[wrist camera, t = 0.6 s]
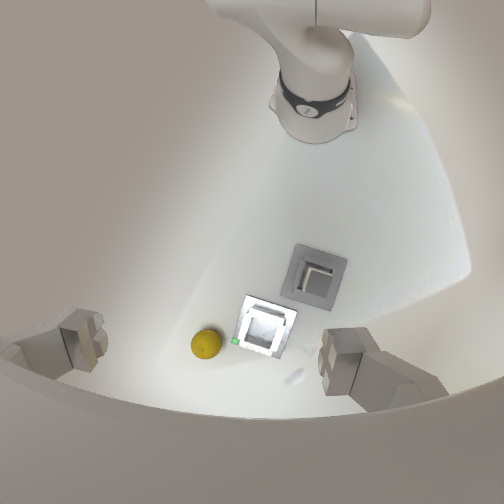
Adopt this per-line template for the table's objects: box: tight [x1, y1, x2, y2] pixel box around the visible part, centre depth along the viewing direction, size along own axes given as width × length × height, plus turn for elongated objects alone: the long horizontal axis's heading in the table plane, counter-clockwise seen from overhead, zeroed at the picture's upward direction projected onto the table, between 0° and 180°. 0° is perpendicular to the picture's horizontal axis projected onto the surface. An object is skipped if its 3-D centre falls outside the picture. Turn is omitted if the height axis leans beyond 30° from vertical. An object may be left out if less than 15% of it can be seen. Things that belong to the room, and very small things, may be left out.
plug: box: [302, 266, 333, 298], centre depth 45 cm, size 4×4×12 cm
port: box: [231, 295, 297, 359], centre depth 51 cm, size 10×10×4 cm
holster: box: [280, 244, 347, 311], centre depth 50 cm, size 10×10×4 cm
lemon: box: [191, 330, 222, 359], centre depth 51 cm, size 6×6×8 cm
